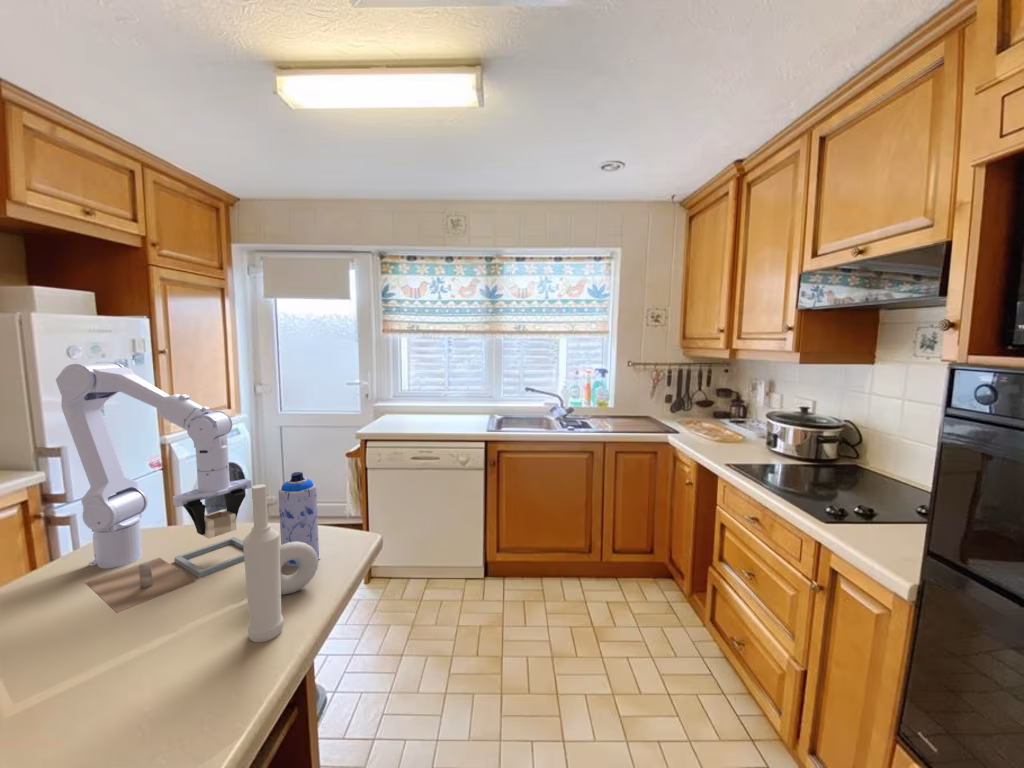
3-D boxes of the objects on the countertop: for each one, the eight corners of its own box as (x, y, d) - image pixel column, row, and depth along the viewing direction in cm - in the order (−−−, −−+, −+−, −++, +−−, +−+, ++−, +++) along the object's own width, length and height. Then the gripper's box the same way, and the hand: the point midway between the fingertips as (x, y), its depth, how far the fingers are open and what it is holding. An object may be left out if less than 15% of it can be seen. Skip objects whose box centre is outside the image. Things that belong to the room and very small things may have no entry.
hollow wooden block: (197, 532, 94) (196, 517, 93) (224, 524, 98) (223, 509, 98) (209, 538, 91) (207, 522, 90) (236, 529, 95) (235, 514, 95)
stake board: (85, 587, 85) (83, 560, 85) (159, 561, 95) (158, 537, 95) (117, 617, 75) (114, 588, 75) (196, 586, 85) (194, 559, 85)
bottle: (246, 647, 68) (238, 493, 66) (249, 628, 73) (241, 484, 71) (283, 637, 70) (276, 488, 68) (283, 619, 75) (277, 479, 73)
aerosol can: (327, 555, 98) (324, 469, 96) (302, 572, 91) (298, 480, 89) (299, 551, 100) (295, 467, 99) (272, 567, 93) (267, 477, 91)
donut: (263, 605, 79) (260, 553, 78) (260, 597, 82) (258, 546, 81) (321, 587, 85) (319, 539, 84) (316, 580, 88) (315, 532, 87)
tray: (174, 566, 93) (174, 557, 93) (234, 544, 103) (234, 536, 103) (199, 582, 87) (199, 572, 87) (260, 558, 97) (260, 549, 97)
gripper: (181, 479, 85) (185, 545, 86) (257, 463, 97) (260, 521, 98) (166, 473, 89) (171, 537, 90) (241, 458, 101) (244, 514, 102)
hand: (216, 528), depth 94 cm, fingers closed on hollow wooden block, 5 cm apart
